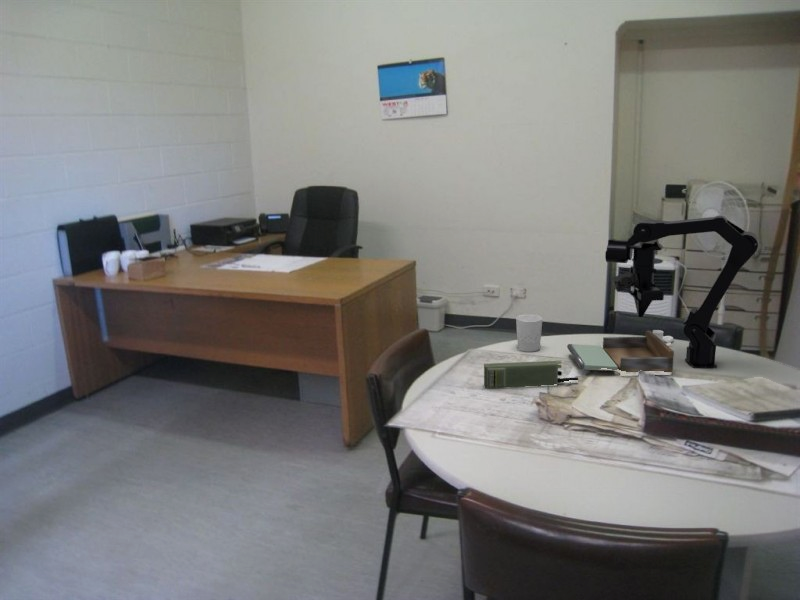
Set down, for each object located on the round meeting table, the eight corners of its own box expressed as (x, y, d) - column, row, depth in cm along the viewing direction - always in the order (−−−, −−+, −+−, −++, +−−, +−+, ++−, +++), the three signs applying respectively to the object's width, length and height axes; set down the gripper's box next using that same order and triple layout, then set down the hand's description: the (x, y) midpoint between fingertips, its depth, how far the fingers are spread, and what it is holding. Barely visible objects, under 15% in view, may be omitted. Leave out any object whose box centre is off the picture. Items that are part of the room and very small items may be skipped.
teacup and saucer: (672, 340, 198) (673, 328, 197) (674, 348, 191) (675, 336, 190) (642, 338, 201) (643, 326, 200) (644, 346, 194) (645, 334, 193)
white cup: (543, 352, 191) (544, 321, 188) (518, 353, 191) (518, 321, 188) (538, 344, 198) (539, 314, 196) (514, 344, 199) (514, 314, 196)
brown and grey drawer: (648, 352, 187) (649, 330, 186) (671, 375, 169) (673, 351, 167) (602, 353, 188) (603, 331, 186) (621, 376, 170) (622, 352, 168)
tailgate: (600, 345, 187) (567, 343, 187) (617, 366, 170) (580, 364, 170) (599, 350, 187) (566, 348, 188) (617, 371, 170) (580, 369, 170)
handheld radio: (483, 385, 168) (576, 381, 168) (485, 390, 165) (579, 386, 165) (483, 362, 166) (577, 358, 166) (485, 367, 163) (580, 363, 163)
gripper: (606, 259, 188) (603, 308, 192) (624, 271, 170) (621, 326, 174) (643, 258, 187) (640, 308, 191) (666, 270, 169) (662, 325, 173)
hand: (640, 316), depth 182 cm, fingers closed
